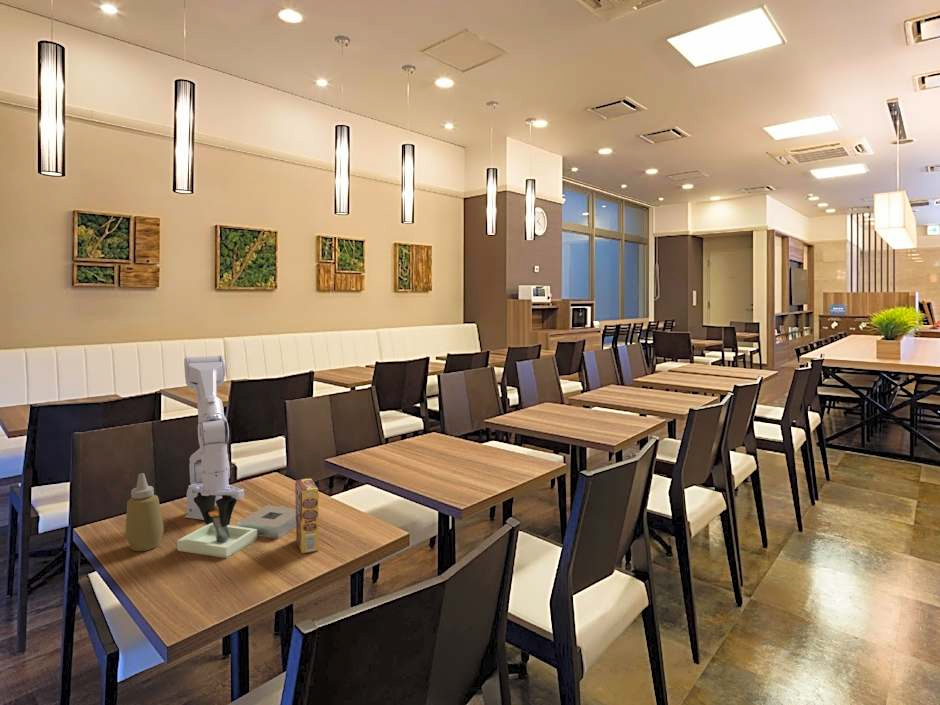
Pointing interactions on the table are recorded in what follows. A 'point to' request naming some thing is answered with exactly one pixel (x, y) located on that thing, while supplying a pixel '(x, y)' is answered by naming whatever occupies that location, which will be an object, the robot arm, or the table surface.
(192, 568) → the table surface
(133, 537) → the squeeze bottle
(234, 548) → the tray
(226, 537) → the copper-topped gray cylinder
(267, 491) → the table surface
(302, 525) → the candy box
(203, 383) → the robot arm
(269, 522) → the block
